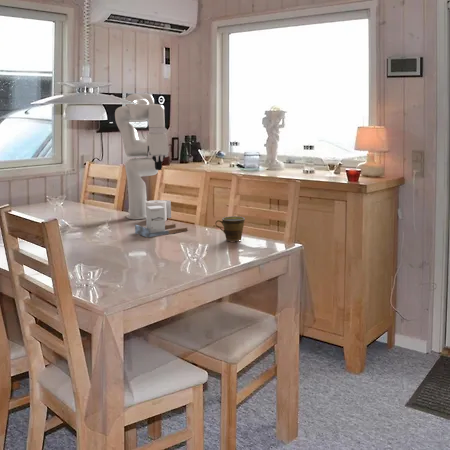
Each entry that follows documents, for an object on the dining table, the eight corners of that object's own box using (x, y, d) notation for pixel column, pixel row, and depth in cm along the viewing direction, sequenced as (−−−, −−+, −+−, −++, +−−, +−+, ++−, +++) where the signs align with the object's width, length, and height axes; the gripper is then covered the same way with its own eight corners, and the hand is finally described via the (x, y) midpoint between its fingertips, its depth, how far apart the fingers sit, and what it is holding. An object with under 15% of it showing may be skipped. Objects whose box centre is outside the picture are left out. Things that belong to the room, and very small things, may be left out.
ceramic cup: (244, 237, 280) (243, 216, 278) (245, 242, 270) (245, 220, 268) (215, 238, 279) (215, 216, 277) (216, 243, 270) (215, 221, 268)
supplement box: (150, 235, 288) (149, 208, 286) (146, 232, 295) (145, 206, 292) (165, 233, 291) (164, 207, 288) (161, 230, 298) (160, 205, 295)
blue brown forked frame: (135, 233, 293) (134, 224, 292) (174, 226, 306) (174, 219, 305) (147, 237, 284) (146, 228, 283) (187, 230, 297) (187, 222, 296)
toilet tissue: (142, 221, 321) (141, 202, 319) (155, 217, 331) (155, 199, 329) (159, 223, 316) (158, 203, 314) (172, 219, 326) (171, 200, 324)
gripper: (166, 130, 299) (167, 167, 303) (139, 131, 291) (141, 170, 294) (174, 130, 293) (176, 169, 297) (147, 132, 285) (148, 171, 288)
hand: (158, 169), depth 296 cm, fingers closed
